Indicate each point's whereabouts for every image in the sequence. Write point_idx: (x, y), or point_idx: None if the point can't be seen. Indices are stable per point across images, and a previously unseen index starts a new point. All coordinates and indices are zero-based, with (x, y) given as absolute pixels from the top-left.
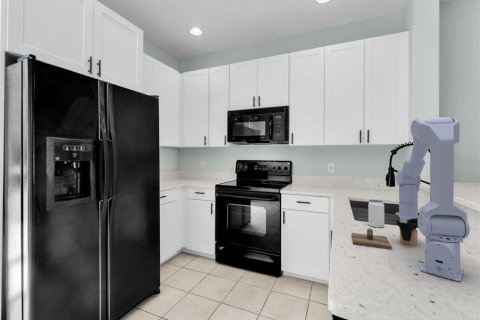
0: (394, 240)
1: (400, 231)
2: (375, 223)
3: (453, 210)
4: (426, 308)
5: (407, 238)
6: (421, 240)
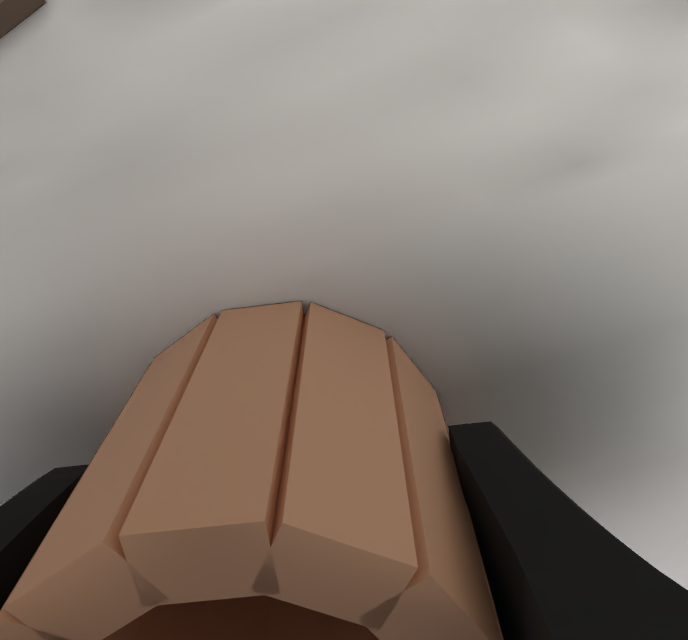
0: (166, 209)
1: (96, 497)
2: None
3: None
4: None
5: None
6: (682, 530)
